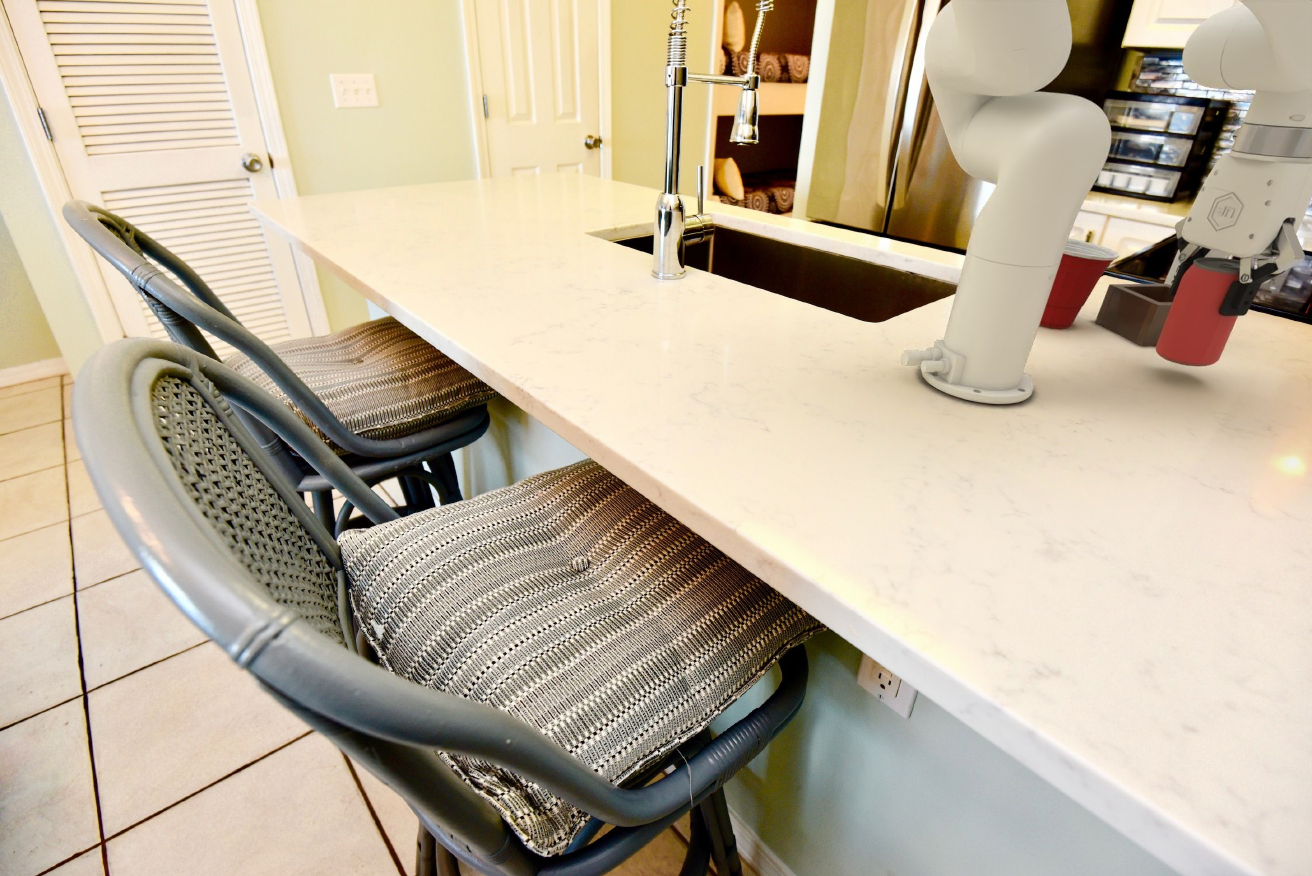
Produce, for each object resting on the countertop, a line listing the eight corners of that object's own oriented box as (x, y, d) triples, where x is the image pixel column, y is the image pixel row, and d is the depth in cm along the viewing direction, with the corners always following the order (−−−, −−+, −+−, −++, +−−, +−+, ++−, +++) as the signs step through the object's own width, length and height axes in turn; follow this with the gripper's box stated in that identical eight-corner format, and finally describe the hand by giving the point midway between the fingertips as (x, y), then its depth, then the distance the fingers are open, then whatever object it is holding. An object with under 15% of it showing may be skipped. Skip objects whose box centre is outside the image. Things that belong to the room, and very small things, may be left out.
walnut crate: (1141, 345, 94) (1158, 305, 91) (1094, 322, 103) (1109, 284, 100) (1201, 344, 96) (1220, 304, 93) (1150, 321, 104) (1166, 283, 101)
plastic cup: (1102, 338, 96) (1134, 255, 90) (1023, 331, 98) (1049, 249, 92) (1077, 314, 106) (1105, 237, 100) (1005, 307, 107) (1028, 232, 101)
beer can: (1198, 372, 80) (1239, 275, 74) (1142, 354, 85) (1176, 261, 79) (1228, 361, 83) (1271, 265, 77) (1172, 343, 88) (1207, 252, 82)
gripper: (1181, 134, 78) (1124, 283, 87) (1327, 154, 64) (1240, 331, 72) (1238, 135, 79) (1176, 282, 88) (1394, 155, 64) (1300, 329, 73)
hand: (1205, 303), depth 80 cm, fingers closed on beer can, 6 cm apart
